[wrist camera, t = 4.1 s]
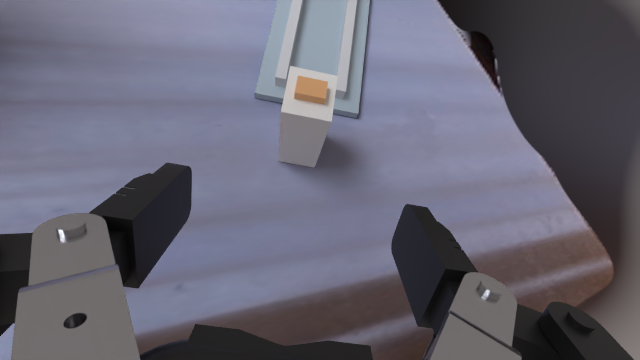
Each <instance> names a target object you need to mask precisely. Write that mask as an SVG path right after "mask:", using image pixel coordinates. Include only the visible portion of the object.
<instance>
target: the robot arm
mask: <svg viewBox="0 0 640 360" xmlns="http://www.w3.org/2000/svg"><path fill="white" fill-rule="evenodd" d="M191 190H192V171H191V168H190V167H189V166H184V165H178V164H172V163H166V164H164V165H163V166H162V167H161V168H160V169H158V170H157V171H156V172H155V173H153V174H150V173H148V174H145V175H143V176H140V177H137V178H134V179H133V180H132V181H130V182H129V183H128V184H126V185H125V186H124V188H121V189H120V190H119V191H117V192H116V194H113V195H112V196H111V197H109V198H108V199H107V200H105V201H104V202H103V203H101V204H100V205H99V206H97V207H96V208H95V209H93V210H92V211H91V212H90V213H76V214H68V215H63V216H59V217H56V218H53V219H51V220H48V221H46V222H44V223H43V224H41V225H40V226H38V227H37V228H36V229H35V231H34V232H33V233H21V234H0V336H1V335H2V334H3V333H4V332H5V331H6V330H7V329H8V328H9V327H10V326H11V325H12V324H13V323H15V327H14V336H13V345H12V355H11V360H373V359H372V354H371V348H370V346H368V345H359V344H351V343H343V342H335V341H323V342H315V343H307V344H299V345H291V346H282V345H279V344H276V343H273V342H271V341H268V340H266V339H263V338H260V337H258V336H255V335H253V334H250V333H247V332H245V331H242V330H239V329H230V328H222V327H214V326H206V325H198V324H195V326H194V329H193V331H192V333H191V336H190V338H189V339H186V340H180V341H176V342H171V343H168V344H165V345H162V346H159V347H156V348H154V349H152V350H149V351H147V352H145V353H143V354H141V355H139V352H138V348H137V343H136V339H135V335H134V331H133V326H132V322H131V318H130V314H129V309H128V305H127V301H126V297H125V292H124V288H123V286H124V287H132V288H139V287H140V285H141V284H142V282H143V281H144V280H145V278H146V277H147V275H148V274H149V273H150V271H151V270H152V268H153V267H154V266H155V264H156V263H157V261H158V260H159V259H160V257H161V256H162V255H163V253H164V252H165V250H166V249H167V248H168V246H169V245H170V243H171V242H172V241H173V239H174V238H175V236H176V235H177V234H178V232H179V231H180V230H181V228H182V227H183V225H184V224H185V223H186V221H187V219H188V217H189V214H190V210H191ZM391 249H392V254H393V257H394V260H395V263H396V266H397V269H398V272H399V274H400V277H401V280H402V283H403V286H404V289H405V292H406V294H407V297H408V300H409V303H410V306H411V309H412V311H413V314H414V317H415V320H416V323H417V326H419V327H426V328H433V330H434V335H433V337H432V338H431V340H430V343H429V345H428V347H427V349H426V351H425V353H424V356H423V358H422V360H634V359H633V358H632V357H631V356H630V355H629V354H628V353H627V352H626V351H625V350H624V349H623V348H622V347H621V346H620V345H619V344H618V343H617V341H616V340H615V339H614V338H613V337H612V336H611V335H610V334H609V333H608V332H607V331H606V330H605V329H604V328H603V327H602V326H601V325H600V324H599V323H598V322H597V321H596V320H595V319H593V318H592V317H590V316H589V315H588V314H586V313H584V312H583V311H581V310H579V309H577V308H575V307H573V306H571V305H568V304H565V303H561V302H551V303H550V304H549V305H548V306H547V308H546V309H545V310H544V312H543V313H541V312H538V311H535V310H532V309H530V308H527V307H524V306H522V305H519V304H517V301H516V298H515V296H514V295H513V294H512V292H511V291H510V290H509V289H508V288H507V287H506V286H504V285H503V284H502V283H500V282H499V281H497V280H496V279H494V278H492V277H490V276H487V275H485V274H481V273H478V271H477V270H476V268H475V267H474V265H473V264H472V263H471V261H470V260H469V258H468V257H467V255H466V254H465V252H464V251H463V250H461V247H460V245H459V244H458V242H456V239H455V238H454V237H453V235H452V234H451V232H450V231H449V230H448V229H447V228H445V227H444V226H443V225H442V224H441V223H439V222H437V221H436V219H435V218H434V216H433V215H432V213H431V212H430V210H429V209H428V208H427V207H422V206H416V205H410V204H407V205H405V207H404V209H403V211H402V214H401V216H400V219H399V222H398V225H397V227H396V230H395V233H394V236H393V239H392V246H391Z"/></svg>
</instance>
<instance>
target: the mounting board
mask: <svg viewBox="0 0 640 360" xmlns="http://www.w3.org/2000/svg"><path fill="white" fill-rule="evenodd" d="M369 4H370V0H278V1H277V5H276V9H275V13H274V17H273V21H272V25H271V29H270V33H269V37H268V41H267V45H266V49H265V53H264V57H263V61H262V65H261V69H260V73H259V77H258V81H257V85H256V89H255V98H258V99H263V100H268V101H273V102H278V103H283V99H284V94H285V89H286V84H287V79H288V74H289V70H290V66H293V67H298V68H303V69H307V70H312V71H317V72H321V73H326V74H331V75H336V76H338V79H337V86H336V93H335V101H334V108H333V114H338V115H343V116H348V117H353V118H356V117H357V115H358V112H359V102H360V92H361V83H362V73H363V63H364V53H365V43H366V33H367V24H368V14H369Z"/></svg>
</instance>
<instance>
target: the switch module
mask: <svg viewBox="0 0 640 360" xmlns="http://www.w3.org/2000/svg"><path fill="white" fill-rule="evenodd" d="M337 79H338V76H336V75H331V74H326V73H321V72H317V71H312V70H307V69H303V68H298V67H293V66H290V70H289V74H288V79H287V84H286V89H285V94H284V99H283V103H282V108H281V118H280V139H279V160H278V161H280V162H285V163H291V164H297V165H302V166H308V167H313V168H315V166H316V163H317V160H318V157H319V155H320V152H321V149H322V147H323V144H324V141H325V138H326V136H327V133H328V130H329V128H330V125H331V122H332V115H333V108H334V101H335V93H336V86H337Z"/></svg>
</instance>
